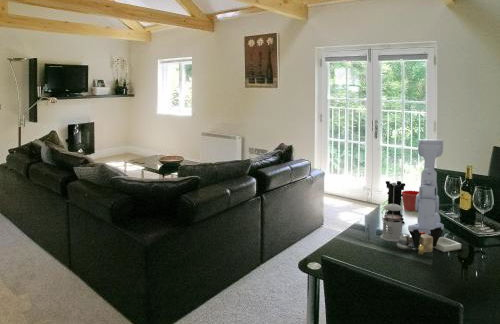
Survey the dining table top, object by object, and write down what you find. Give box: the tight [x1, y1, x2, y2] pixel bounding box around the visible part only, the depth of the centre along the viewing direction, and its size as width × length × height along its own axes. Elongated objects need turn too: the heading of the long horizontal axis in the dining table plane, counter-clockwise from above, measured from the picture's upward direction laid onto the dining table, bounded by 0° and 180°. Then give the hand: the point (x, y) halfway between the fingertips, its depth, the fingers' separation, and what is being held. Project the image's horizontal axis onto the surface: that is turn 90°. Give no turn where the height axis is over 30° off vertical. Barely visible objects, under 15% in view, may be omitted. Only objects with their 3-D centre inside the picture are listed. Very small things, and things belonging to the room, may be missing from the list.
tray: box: [432, 236, 462, 253], centre depth 162 cm, size 9×9×2 cm
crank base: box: [396, 241, 424, 256], centre depth 159 cm, size 6×12×4 cm, turn 20°
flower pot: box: [401, 190, 419, 212], centre depth 217 cm, size 11×11×10 cm
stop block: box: [416, 234, 433, 253], centre depth 158 cm, size 4×4×6 cm
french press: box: [379, 182, 404, 242], centre depth 173 cm, size 10×12×25 cm
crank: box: [399, 231, 425, 244], centre depth 162 cm, size 11×4×4 cm, turn 100°
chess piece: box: [383, 180, 406, 225], centre depth 196 cm, size 8×8×20 cm
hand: (424, 246), depth 158 cm, fingers open, 7 cm apart
